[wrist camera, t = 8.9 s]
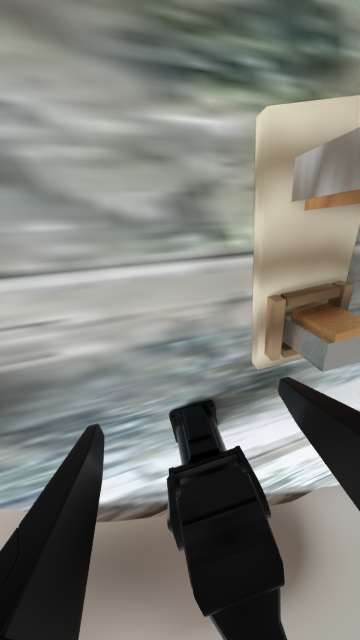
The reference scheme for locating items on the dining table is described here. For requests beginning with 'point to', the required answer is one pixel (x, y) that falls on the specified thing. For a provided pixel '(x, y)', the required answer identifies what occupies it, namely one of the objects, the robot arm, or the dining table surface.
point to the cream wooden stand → (303, 215)
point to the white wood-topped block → (324, 335)
